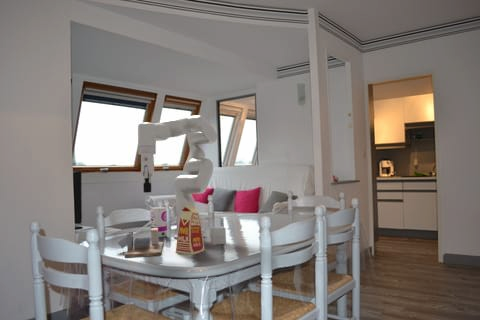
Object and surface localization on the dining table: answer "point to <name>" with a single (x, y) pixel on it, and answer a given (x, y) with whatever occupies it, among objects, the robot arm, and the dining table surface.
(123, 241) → the clamp bar
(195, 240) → the milk carton
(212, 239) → the skincare box
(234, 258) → the dining table surface
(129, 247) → the hinge post
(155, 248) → the walnut board
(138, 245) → the finned block
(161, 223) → the white product box
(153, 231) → the lug slider
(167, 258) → the dining table surface
